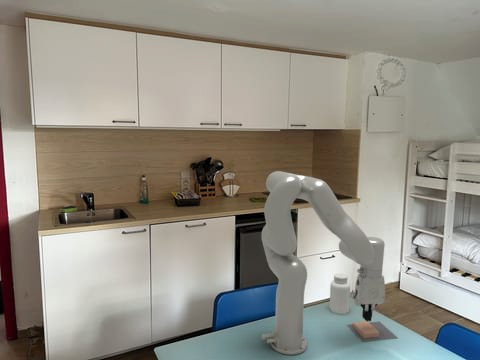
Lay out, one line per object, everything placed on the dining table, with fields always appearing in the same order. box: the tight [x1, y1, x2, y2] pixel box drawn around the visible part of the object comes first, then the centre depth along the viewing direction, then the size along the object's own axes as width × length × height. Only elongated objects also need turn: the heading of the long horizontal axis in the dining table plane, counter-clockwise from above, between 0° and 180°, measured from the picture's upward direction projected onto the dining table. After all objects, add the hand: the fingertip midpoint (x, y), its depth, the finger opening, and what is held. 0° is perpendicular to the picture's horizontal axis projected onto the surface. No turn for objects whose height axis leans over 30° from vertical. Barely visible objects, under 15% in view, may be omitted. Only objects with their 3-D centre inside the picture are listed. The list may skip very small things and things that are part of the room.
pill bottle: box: [329, 273, 351, 315], centre depth 153 cm, size 8×8×15 cm
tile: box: [352, 320, 379, 338], centre depth 136 cm, size 2×8×6 cm
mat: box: [346, 320, 399, 343], centre depth 137 cm, size 14×12×1 cm
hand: (366, 319), depth 136 cm, fingers closed
